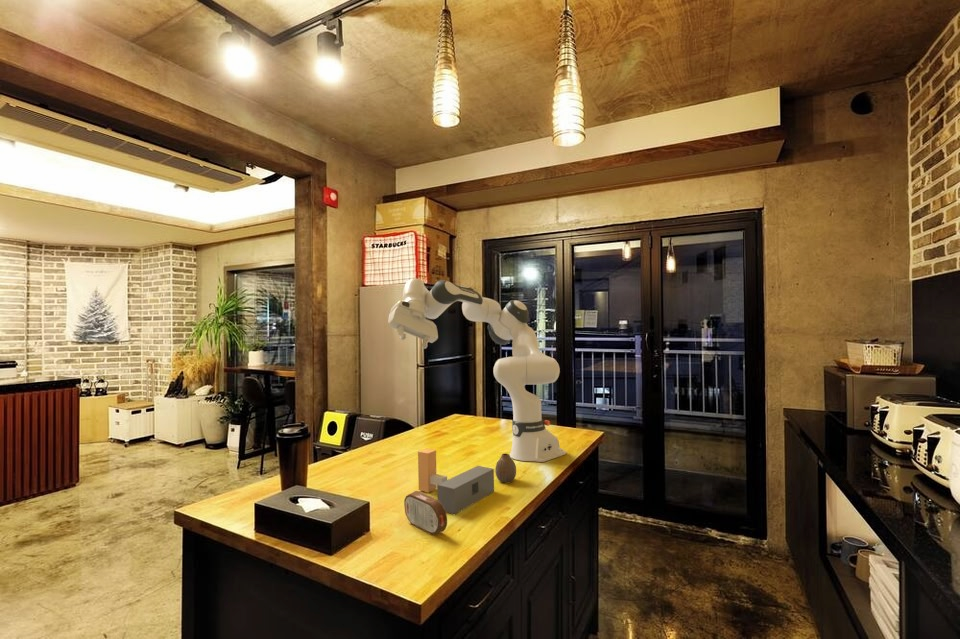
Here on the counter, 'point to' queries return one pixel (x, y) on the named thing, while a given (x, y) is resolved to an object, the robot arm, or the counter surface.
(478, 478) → the block
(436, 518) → the tin
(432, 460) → the plug
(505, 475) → the vase
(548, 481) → the counter surface
